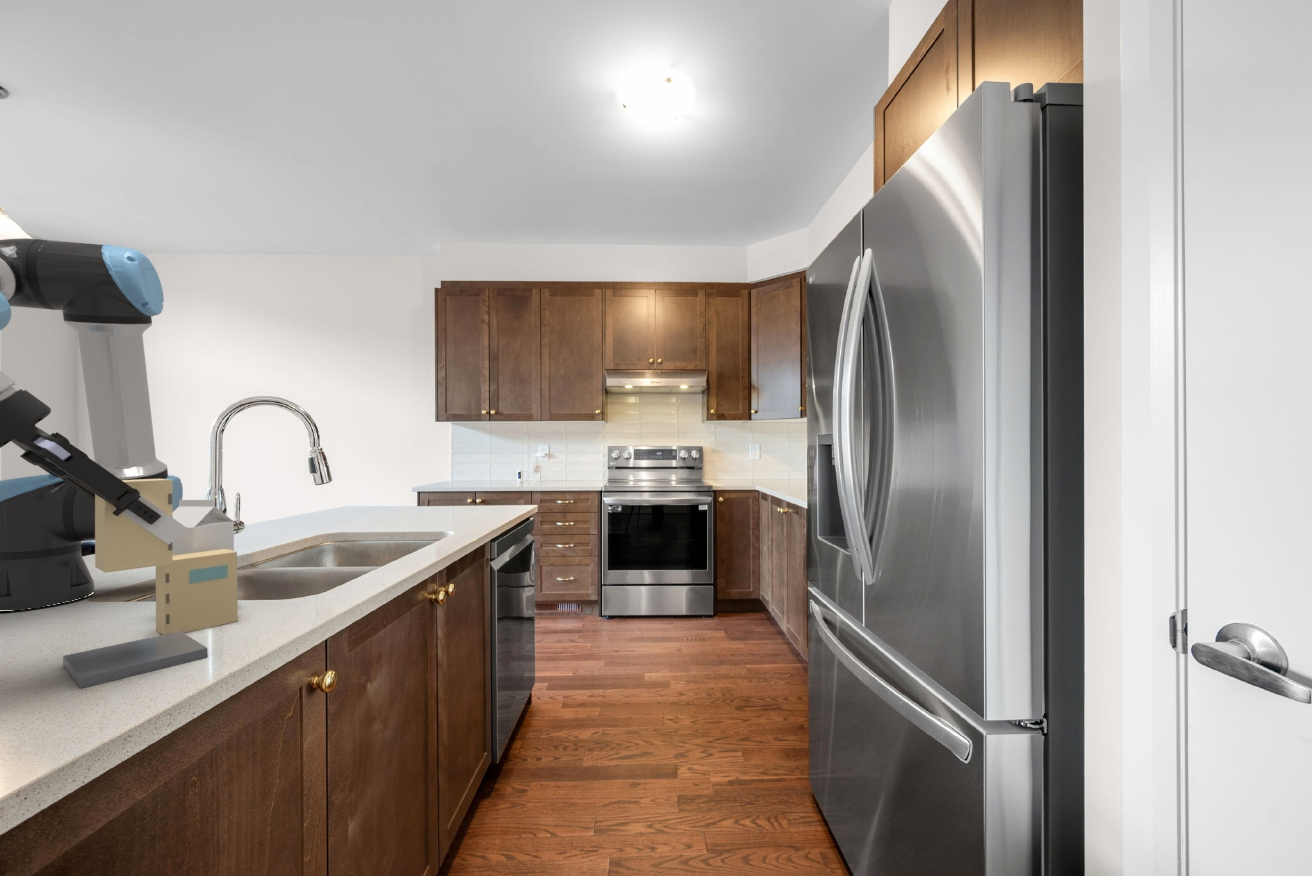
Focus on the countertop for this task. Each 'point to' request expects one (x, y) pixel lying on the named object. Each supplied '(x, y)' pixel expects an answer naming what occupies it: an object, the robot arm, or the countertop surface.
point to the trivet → (132, 658)
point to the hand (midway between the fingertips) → (169, 533)
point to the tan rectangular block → (131, 531)
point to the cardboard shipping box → (196, 591)
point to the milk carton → (202, 528)
